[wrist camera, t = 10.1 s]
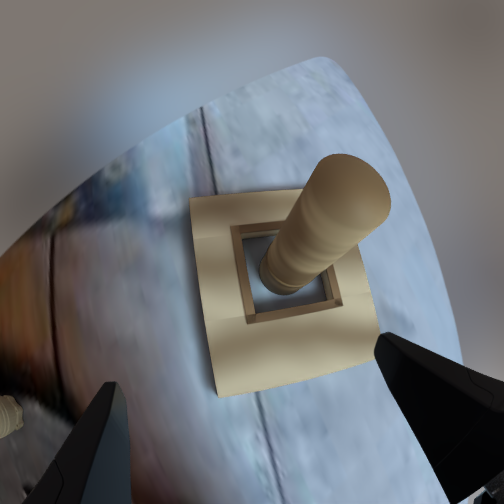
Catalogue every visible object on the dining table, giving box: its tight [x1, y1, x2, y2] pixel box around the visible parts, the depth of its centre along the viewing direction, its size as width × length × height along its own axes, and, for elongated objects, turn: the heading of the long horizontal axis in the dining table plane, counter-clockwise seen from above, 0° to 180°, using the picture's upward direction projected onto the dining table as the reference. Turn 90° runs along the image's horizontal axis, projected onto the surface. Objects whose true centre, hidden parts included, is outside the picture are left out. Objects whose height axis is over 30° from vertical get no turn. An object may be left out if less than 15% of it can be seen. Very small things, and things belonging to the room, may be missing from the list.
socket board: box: [189, 189, 380, 398], centre depth 24 cm, size 16×14×1 cm
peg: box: [259, 154, 391, 295], centre depth 19 cm, size 4×4×13 cm
